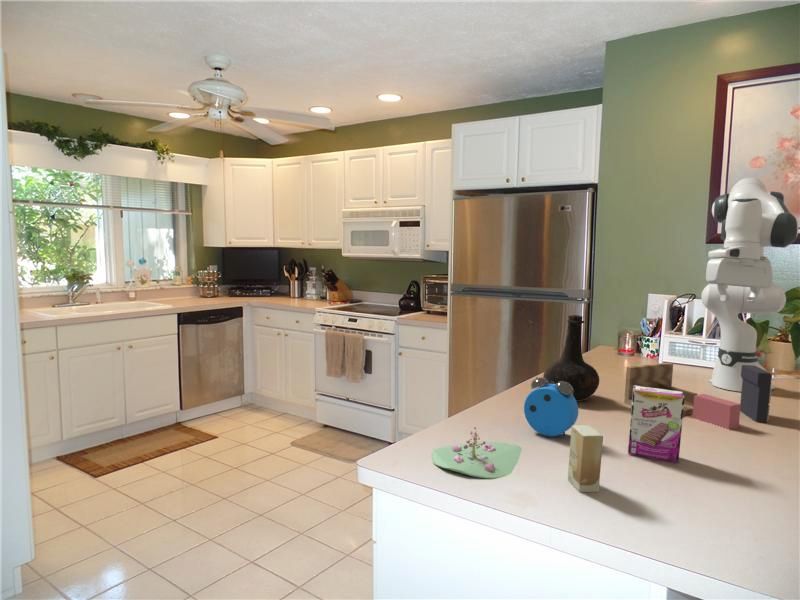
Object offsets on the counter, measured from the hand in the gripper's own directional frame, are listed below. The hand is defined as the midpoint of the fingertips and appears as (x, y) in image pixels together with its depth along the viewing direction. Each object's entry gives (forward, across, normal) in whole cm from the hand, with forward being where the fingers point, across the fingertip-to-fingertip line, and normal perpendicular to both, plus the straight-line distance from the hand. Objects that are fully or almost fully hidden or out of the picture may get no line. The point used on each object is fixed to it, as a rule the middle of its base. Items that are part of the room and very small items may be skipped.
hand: (738, 302), depth 147 cm
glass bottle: (+35, +30, -34) cm, 58 cm away
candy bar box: (+40, +37, +14) cm, 56 cm away
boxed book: (+36, +1, -4) cm, 36 cm away
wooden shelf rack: (+34, +4, -20) cm, 40 cm away
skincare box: (+43, +64, +25) cm, 80 cm away
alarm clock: (+40, +55, -4) cm, 68 cm away
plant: (+43, +79, +6) cm, 90 cm away
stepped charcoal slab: (+35, -15, -6) cm, 38 cm away
